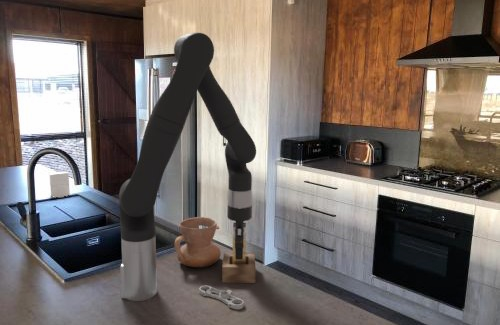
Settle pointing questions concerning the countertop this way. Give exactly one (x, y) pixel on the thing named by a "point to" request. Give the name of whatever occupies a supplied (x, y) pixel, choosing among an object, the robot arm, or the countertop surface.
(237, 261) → the tan wooden square peg
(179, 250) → the ceramic jug
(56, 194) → the white rectangular block
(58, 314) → the countertop surface
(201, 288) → the bracket
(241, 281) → the walnut block
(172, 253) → the countertop surface
